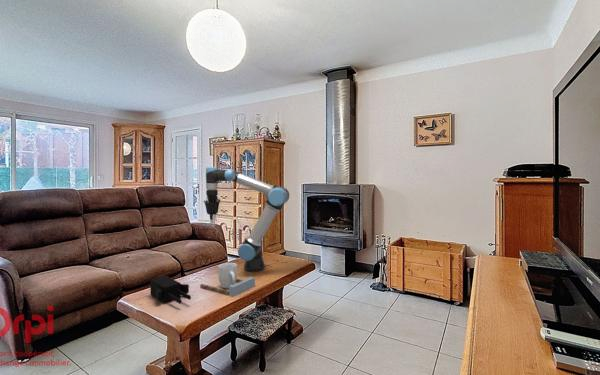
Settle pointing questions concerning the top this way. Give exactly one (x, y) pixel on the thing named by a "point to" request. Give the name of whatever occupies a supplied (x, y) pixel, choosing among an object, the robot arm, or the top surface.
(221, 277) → the mug
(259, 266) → the robot arm
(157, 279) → the black power adapter
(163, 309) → the top surface
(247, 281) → the stop
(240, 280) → the channel
